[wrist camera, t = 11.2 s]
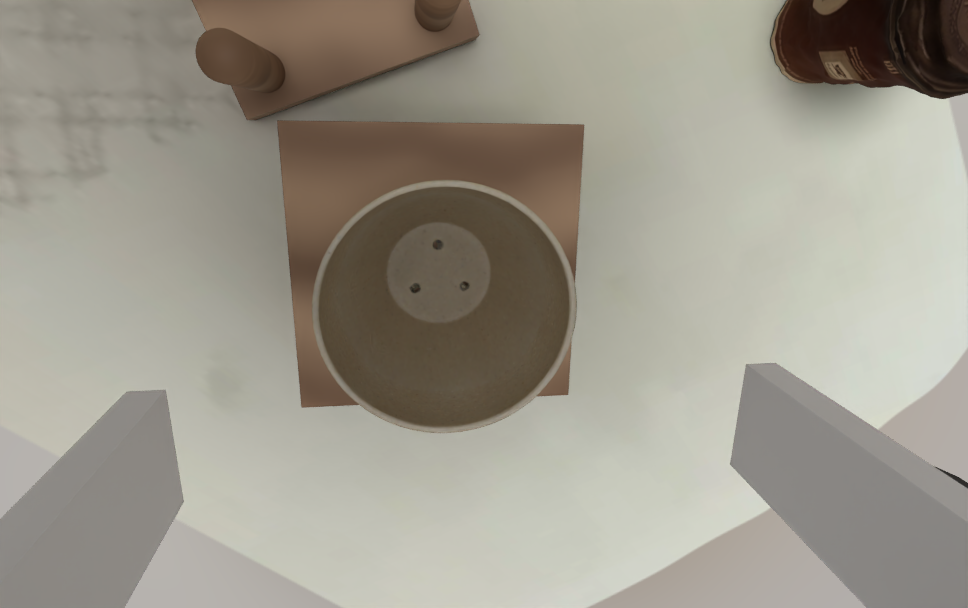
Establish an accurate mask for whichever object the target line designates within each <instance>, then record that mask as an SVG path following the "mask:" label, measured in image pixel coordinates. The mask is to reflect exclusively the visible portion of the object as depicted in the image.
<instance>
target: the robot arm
mask: <svg viewBox="0 0 968 608" xmlns="http://www.w3.org/2000/svg"><path fill="white" fill-rule="evenodd" d="M730 465H731V466H732V467H733V468H734V469H735V470H736V471H737V472H738V473H739V474H740V475H741V476H742V477H743V478H744V479H745V480H746V482H747V483H748V484H749V485H750V486H751V487H752V488H753V489H754V490H755V491H756V492H757V493H758V494H759V495H760V496H761V497H762V498H763V499H764V500H765V501H766V503H767V504H768V505H769V506H770V507H771V508H772V509H773V510H774V511H775V512H776V513H777V514H778V515H779V516H780V517H781V518H782V519H783V520H784V521H785V522H786V524H787V525H788V526H789V527H790V528H791V529H792V530H793V531H794V532H795V533H796V534H797V535H798V536H799V537H800V538H801V539H802V540H803V541H804V542H805V543H806V545H807V546H808V547H809V548H810V549H811V550H812V551H813V552H814V553H815V554H816V555H817V556H818V557H819V558H820V559H821V560H822V561H823V562H824V563H825V565H826V566H827V567H828V568H829V569H830V570H831V571H832V572H833V573H834V574H835V575H836V576H837V577H838V578H839V579H840V580H841V581H842V582H843V583H844V584H845V585H846V587H847V588H848V589H849V590H850V591H851V592H852V593H853V594H854V595H855V596H856V597H857V598H858V599H859V600H860V601H861V602H862V603H863V604H864V605H865V606H866V608H968V483H967V482H965V481H964V480H962V479H961V478H959V477H957V476H955V475H953V474H950V473H948V472H946V471H943V470H941V469H939V468H937V467H934V466H932V465H931V464H929V463H928V462H926V461H925V460H923V459H922V458H920V457H919V456H917V455H916V454H914V453H912V452H911V451H909V450H908V449H906V448H905V447H903V446H902V445H900V444H899V443H897V442H896V441H894V440H893V439H891V438H890V437H888V436H886V435H885V434H883V433H882V432H880V431H879V430H877V429H876V428H874V427H873V426H871V425H870V424H868V423H867V422H865V421H864V420H862V419H860V418H859V417H857V416H856V415H854V414H853V413H851V412H850V411H848V410H847V409H845V408H844V407H842V406H841V405H839V404H838V403H836V402H834V401H833V400H831V399H830V398H828V397H827V396H825V395H824V394H822V393H821V392H819V391H818V390H816V389H815V388H813V387H812V386H810V385H808V384H807V383H805V382H804V381H802V380H801V379H799V378H798V377H796V376H795V375H793V374H792V373H790V372H789V371H787V370H786V369H784V368H782V367H781V366H779V365H778V364H776V363H763V364H746V368H745V374H744V380H743V387H742V393H741V399H740V405H739V412H738V418H737V424H736V430H735V437H734V443H733V449H732V456H731V462H730ZM183 502H184V500H183V494H182V488H181V482H180V475H179V469H178V463H177V457H176V451H175V445H174V439H173V432H172V426H171V420H170V414H169V408H168V402H167V396H166V390H153V391H131V392H126V393H125V394H124V395H123V396H122V397H121V398H120V399H119V400H118V401H117V402H116V403H115V404H114V405H113V406H112V407H111V408H110V409H109V410H108V411H107V412H106V413H105V414H104V415H103V416H102V417H101V418H100V419H99V420H98V421H97V422H96V423H95V424H94V425H93V426H92V427H91V428H90V429H89V430H88V431H87V432H86V433H85V434H84V435H83V436H82V437H81V438H80V439H79V440H78V441H77V442H76V443H75V444H74V445H73V446H72V447H71V448H70V449H69V450H68V451H67V452H66V453H65V454H64V455H63V456H62V457H61V458H60V459H59V460H58V461H57V462H56V463H55V464H54V466H52V468H51V469H49V471H48V472H47V473H46V474H45V475H44V476H43V477H42V478H41V479H40V480H39V481H38V482H37V483H36V484H35V485H34V486H33V487H32V488H31V489H30V490H29V491H28V492H27V493H26V494H25V495H24V496H23V497H22V498H21V499H20V500H19V501H18V502H17V503H16V504H15V505H14V506H13V507H12V508H11V509H10V510H9V511H8V512H7V513H6V514H5V515H4V516H3V517H2V518H1V519H0V608H125V606H126V604H127V602H128V600H129V598H130V597H131V595H132V593H133V591H134V590H135V588H136V586H137V584H138V583H139V581H140V579H141V577H142V575H143V573H144V572H145V570H146V568H147V566H148V565H149V563H150V561H151V559H152V557H153V556H154V554H155V552H156V550H157V549H158V547H159V545H160V543H161V541H162V540H163V538H164V536H165V534H166V532H167V531H168V529H169V527H170V525H171V524H172V522H173V520H174V518H175V516H176V515H177V513H178V511H179V509H180V507H181V506H182V504H183Z"/></svg>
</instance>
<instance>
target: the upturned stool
mask: <svg viewBox="0 0 968 608" xmlns="http://www.w3.org/2000/svg"><path fill="white" fill-rule="evenodd" d="M192 2H193V4H194V6H195V8H196V10H197V12H198V15H199V17H200V19H201V21H202V23H203V25H204V28H205V30H206V32H205V33H204V34H202V36H201V37H200V38H199V40H198V42H197V45H196V58H197V62H198V64H199V66H200V68H201V70H202V71H203V72H204V73H205V74H206V75H207V76H208V77H209V78H211V79H212V80H214V81H216V82H219V83H223V84H228V85H231V86H232V89H233V91H234V93H235V95H236V97H237V99H238V102H239V104H240V106H241V108H242V110H243V112H244V115H245V117H246V119H247V120H257V119H260V118H263V117H265V116H268V115H271V114H274V113H276V112H279V111H282V110H284V109H287V108H290V107H293V106H295V105H298V104H301V103H304V102H306V101H309V100H312V99H315V98H317V97H320V96H323V95H326V94H328V93H331V92H334V91H336V90H339V89H342V88H345V87H347V86H350V85H353V84H356V83H358V82H361V81H364V80H367V79H369V78H372V77H375V76H378V75H380V74H383V73H386V72H389V71H391V70H394V69H397V68H399V67H402V66H405V65H408V64H410V63H413V62H416V61H419V60H421V59H424V58H427V57H430V56H432V55H435V54H438V53H441V52H443V51H446V50H449V49H451V48H454V47H457V46H460V45H462V44H465V43H468V42H471V41H473V40H476V38H477V37H478V36H479V32H478V29H477V25H476V22H475V19H474V16H473V13H472V10H471V7H470V3H469V0H192Z"/></svg>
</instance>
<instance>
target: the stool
mask: <svg viewBox="0 0 968 608" xmlns="http://www.w3.org/2000/svg"><path fill="white" fill-rule="evenodd" d="M277 124H278V136H279V148H280V160H281V171H282V183H283V195H284V207H285V218H286V230H287V242H288V254H289V265H290V277H291V289H292V301H293V312H294V324H295V336H296V348H297V359H298V371H299V383H300V395H301V406H302V407H323V406H344V405H359V404H358V403H357V402H355V401H354V400H353V399H352V398H351V397H350V396H348V395H347V394H346V392H345V391H344V390H343V389H342V388H341V387H340V386H339V384H338V383H337V382H336V380H335V379H334V378H333V376H332V375H331V373H330V371H329V370H328V368H327V366H326V364H325V362H324V360H323V358H322V356H321V354H320V351H319V348H318V344H317V341H316V338H315V333H314V329H313V321H312V297H313V290H314V284H315V280H316V276H317V272H318V269H319V267H320V264H321V261H322V259H323V257H324V255H325V253H326V251H327V249H328V247H329V246H330V244H331V242H332V241H333V239H334V237H335V236H336V235H337V233H338V232H339V231H340V230H341V229H342V227H343V226H344V225H345V224H346V223H347V222H348V221H349V220H350V218H351V217H352V216H353V215H355V214H356V213H357V212H358V211H359V210H361V209H362V208H363V207H365V206H366V205H368V204H369V203H370V202H372V201H374V200H375V199H377V198H379V197H380V196H382V195H384V194H386V193H388V192H390V191H393V190H395V189H398V188H401V187H404V186H407V185H411V184H415V183H420V182H425V181H434V180H459V181H466V182H472V183H477V184H481V185H485V186H488V187H491V188H494V189H496V190H499V191H501V192H503V193H506V194H508V195H510V196H511V197H513V198H515V199H516V200H518V201H520V202H521V203H523V204H524V205H525V206H527V207H528V208H529V209H531V210H532V211H533V212H534V213H535V214H536V215H537V216H539V217H540V219H541V220H542V221H543V222H544V223H545V224H546V225H547V226H548V227H549V228H550V230H551V231H552V233H553V234H554V235H555V237H556V238H557V240H558V241H559V243H560V245H561V246H562V248H563V250H564V252H565V255H566V257H567V259H568V261H569V264H570V267H571V270H572V274H573V278H574V282H575V271H576V254H577V237H578V220H579V204H580V187H581V170H582V153H583V136H584V125H573V124H499V123H425V122H351V121H277ZM433 246H434V248H435V249H436V248H437V243H436V242H434V244H433ZM463 284H464V285H468V283H467V282H463ZM419 289H420V288H416V289H415V290H414V292H417V291H419ZM570 356H571V343H570V346H569V348H568V351H567V353H566V356H565V358H564V360H563V362H562V363H561V365H560V367H559V369H558V370H557V372H556V373H555V375H554V376H553V378H552V379H551V380H550V382H549V383H548V384H547V385H546V387H545V388H544V389H543V390H542V391H541V392H540V393H539V394H538V395H537V396H553V395H568V389H569V373H570Z"/></svg>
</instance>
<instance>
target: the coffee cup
mask: <svg viewBox="0 0 968 608" xmlns="http://www.w3.org/2000/svg"><path fill="white" fill-rule="evenodd" d="M771 46H772V50H773V52H774V54H775V61H776V64H777V65H778V66H779V67H780V68H781V69H780V70H781V72H782V74H783V75H785V76H786V77H788V78H789V79H790V80H792V81H794V82H798V83H823V82H826V83H829V84H854V83H859V84H861V85H864V86H866V87H870V88H874V87H892V86H896V85H898V86H905V87H908V88H911V89H914V90H916V91H918V92H920V93H922V94H925V95H928V96H930V97H934V98H939V99H946V98H950V97H954V96H958V95H962V94H965V93H968V0H787V2H786V3H785V5H784V7H783V8H782V10H781V12H780V13H779V15H778V17H777V19H776V21H775V28H774V31H773V35H772V37H771Z"/></svg>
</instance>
